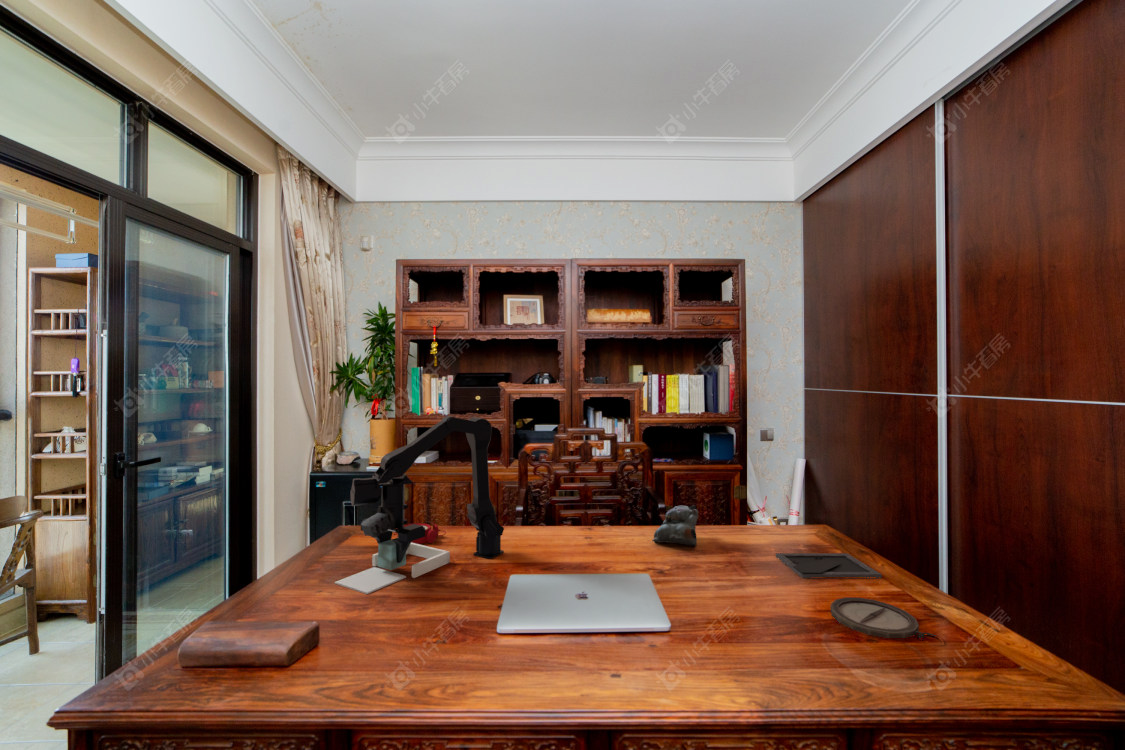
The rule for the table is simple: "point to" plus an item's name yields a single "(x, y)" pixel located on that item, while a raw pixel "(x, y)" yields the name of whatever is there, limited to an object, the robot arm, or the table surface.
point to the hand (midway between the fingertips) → (392, 560)
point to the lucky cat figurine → (678, 526)
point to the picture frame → (826, 565)
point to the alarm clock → (427, 533)
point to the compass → (875, 618)
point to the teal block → (389, 556)
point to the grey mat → (370, 580)
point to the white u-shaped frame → (432, 554)
